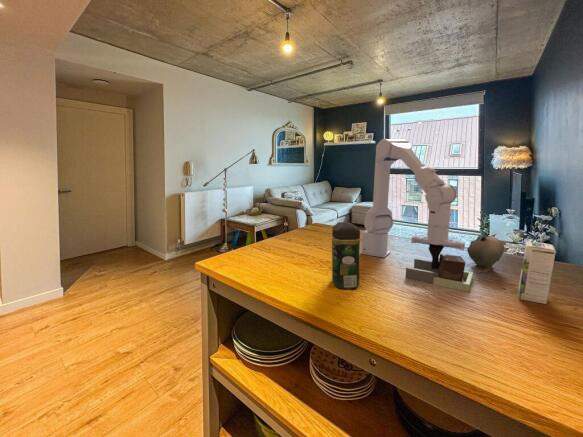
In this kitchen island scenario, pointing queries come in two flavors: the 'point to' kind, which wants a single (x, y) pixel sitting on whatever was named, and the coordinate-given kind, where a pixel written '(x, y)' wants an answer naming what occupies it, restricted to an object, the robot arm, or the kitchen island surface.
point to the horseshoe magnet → (427, 275)
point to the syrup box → (536, 272)
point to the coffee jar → (345, 255)
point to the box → (451, 267)
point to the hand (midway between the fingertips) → (435, 268)
